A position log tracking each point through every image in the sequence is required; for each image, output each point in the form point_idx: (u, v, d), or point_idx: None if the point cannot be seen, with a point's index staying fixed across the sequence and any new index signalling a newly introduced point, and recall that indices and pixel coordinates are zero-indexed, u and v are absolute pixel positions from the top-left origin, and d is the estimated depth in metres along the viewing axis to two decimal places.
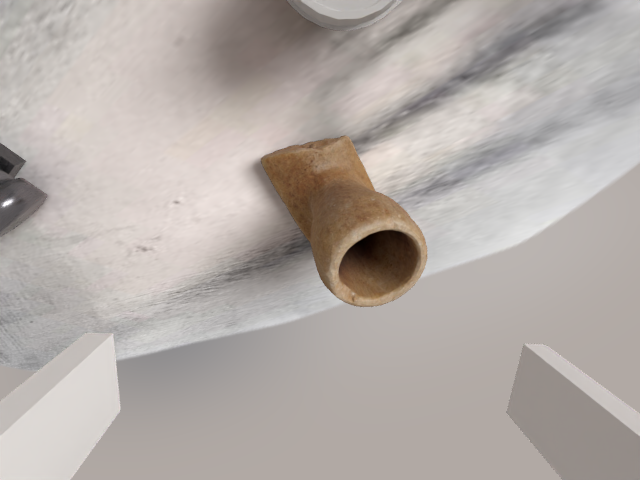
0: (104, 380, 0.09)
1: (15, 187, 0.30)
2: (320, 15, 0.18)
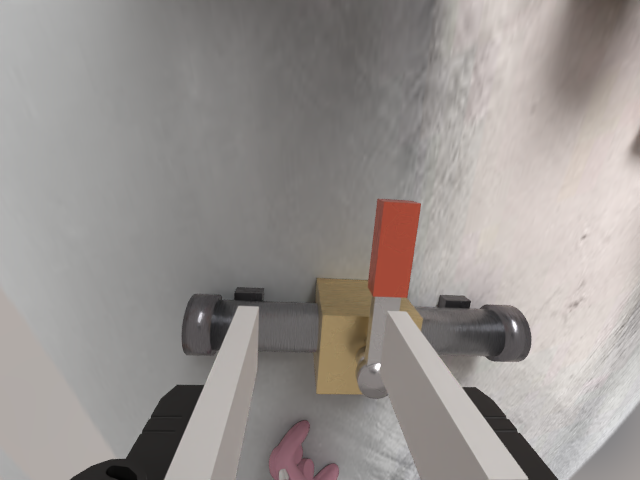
0: (256, 343, 0.11)
1: (503, 309, 0.33)
2: None
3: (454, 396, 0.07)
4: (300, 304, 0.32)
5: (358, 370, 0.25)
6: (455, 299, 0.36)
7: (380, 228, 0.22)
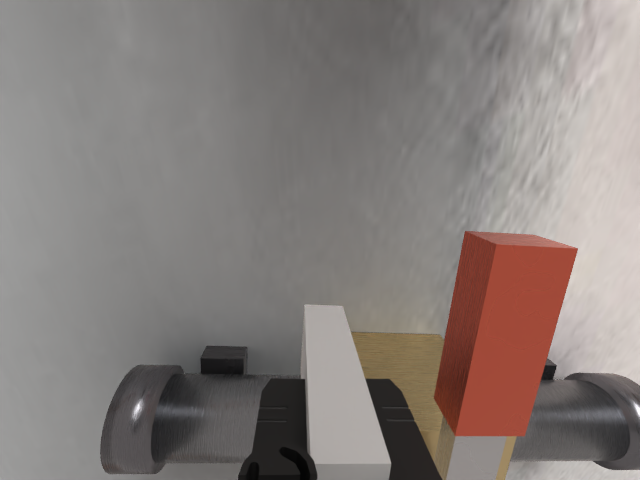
0: None
1: (619, 386, 0.21)
2: None
3: (353, 386, 0.08)
4: None
5: None
6: None
7: (481, 301, 0.10)
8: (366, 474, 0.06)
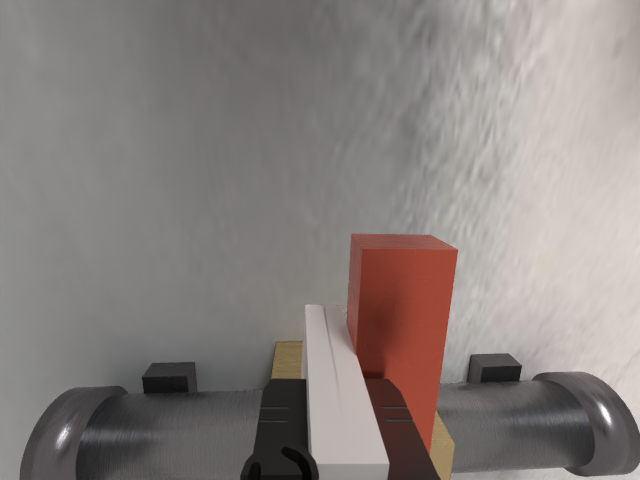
0: None
1: (583, 386, 0.20)
2: None
3: (352, 386, 0.08)
4: (242, 399, 0.19)
5: None
6: (496, 363, 0.23)
7: (357, 312, 0.09)
8: (364, 474, 0.06)
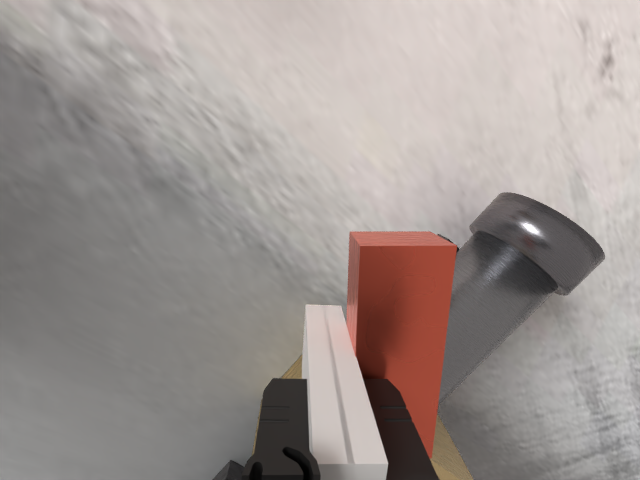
0: None
1: (492, 218, 0.17)
2: None
3: (350, 386, 0.08)
4: None
5: None
6: None
7: (356, 310, 0.09)
8: (363, 474, 0.06)
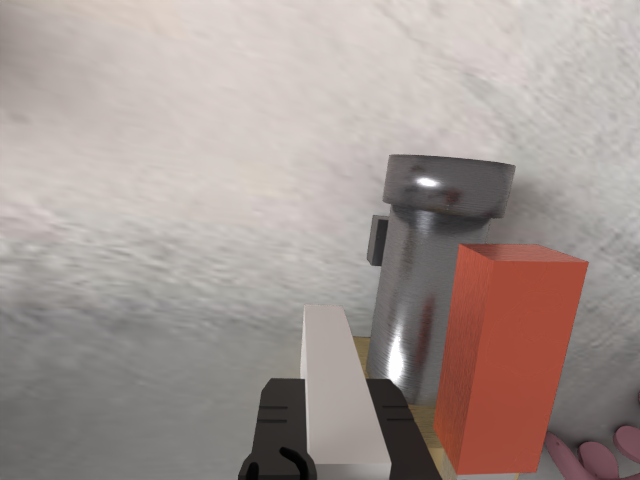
0: None
1: (388, 189, 0.16)
2: None
3: (353, 386, 0.08)
4: None
5: None
6: (373, 245, 0.20)
7: (479, 325, 0.09)
8: (366, 474, 0.06)
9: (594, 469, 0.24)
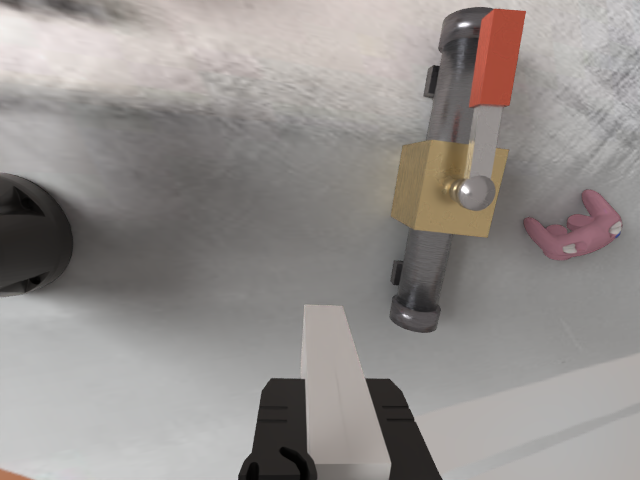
0: None
1: (443, 34, 0.32)
2: None
3: (353, 386, 0.08)
4: (408, 237, 0.38)
5: (459, 186, 0.29)
6: (429, 82, 0.36)
7: (489, 36, 0.25)
8: (366, 474, 0.06)
9: None
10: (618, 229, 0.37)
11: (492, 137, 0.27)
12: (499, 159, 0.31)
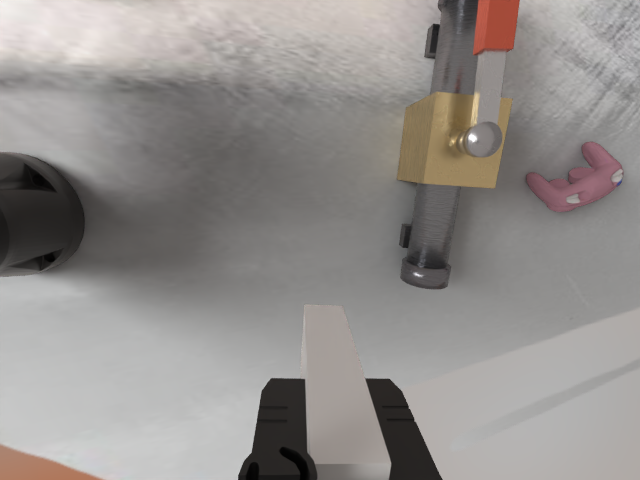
0: None
1: None
2: None
3: (353, 386, 0.08)
4: (416, 196, 0.38)
5: (467, 134, 0.29)
6: (429, 41, 0.36)
7: None
8: (366, 474, 0.06)
9: None
10: (619, 177, 0.38)
11: (497, 82, 0.28)
12: (503, 109, 0.31)
